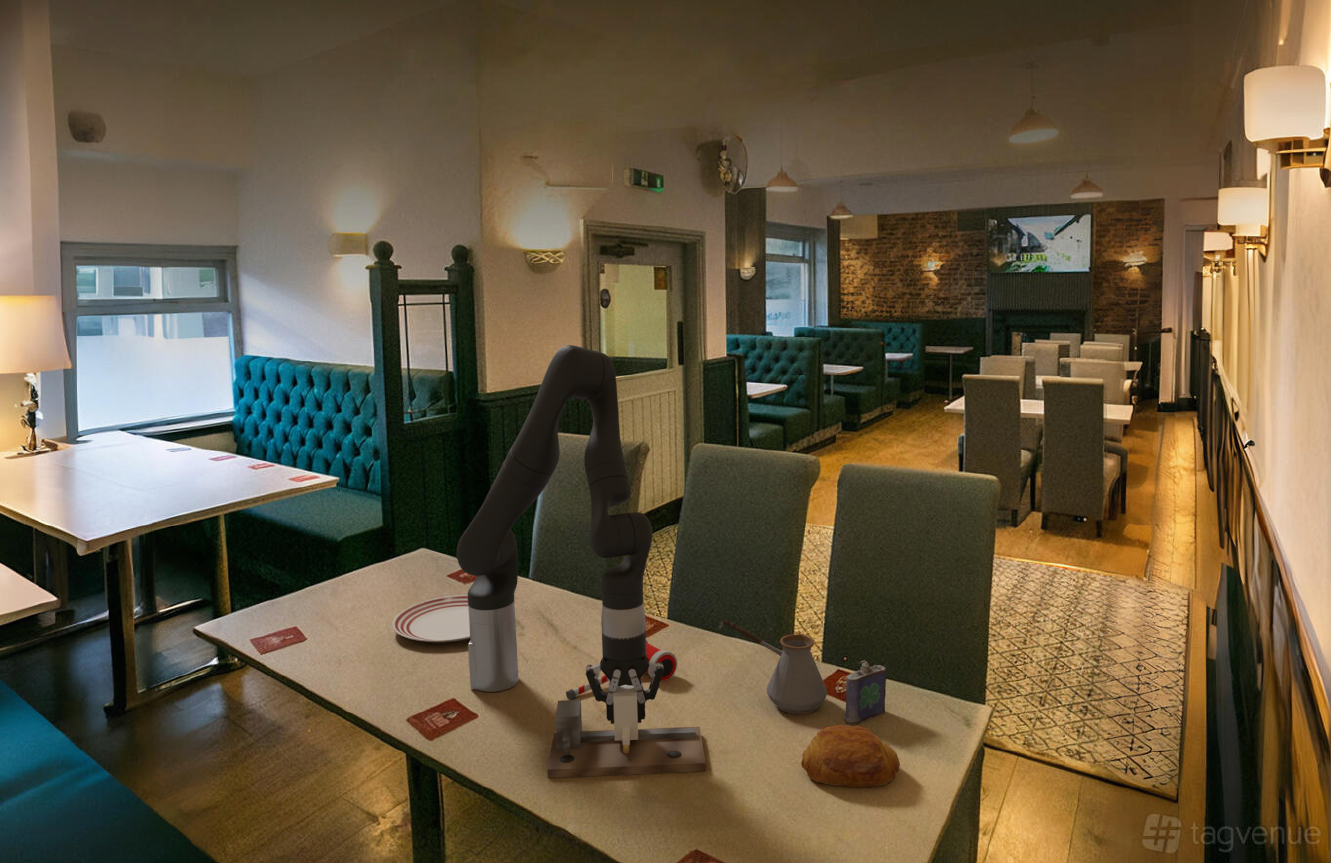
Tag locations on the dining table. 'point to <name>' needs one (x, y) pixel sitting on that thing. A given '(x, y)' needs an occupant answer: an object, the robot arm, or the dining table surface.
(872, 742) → the croissant
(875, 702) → the flask
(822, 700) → the coffee pot
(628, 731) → the gauge slider
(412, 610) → the dinner plate
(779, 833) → the dining table surface
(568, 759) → the base
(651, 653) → the toy hammer
